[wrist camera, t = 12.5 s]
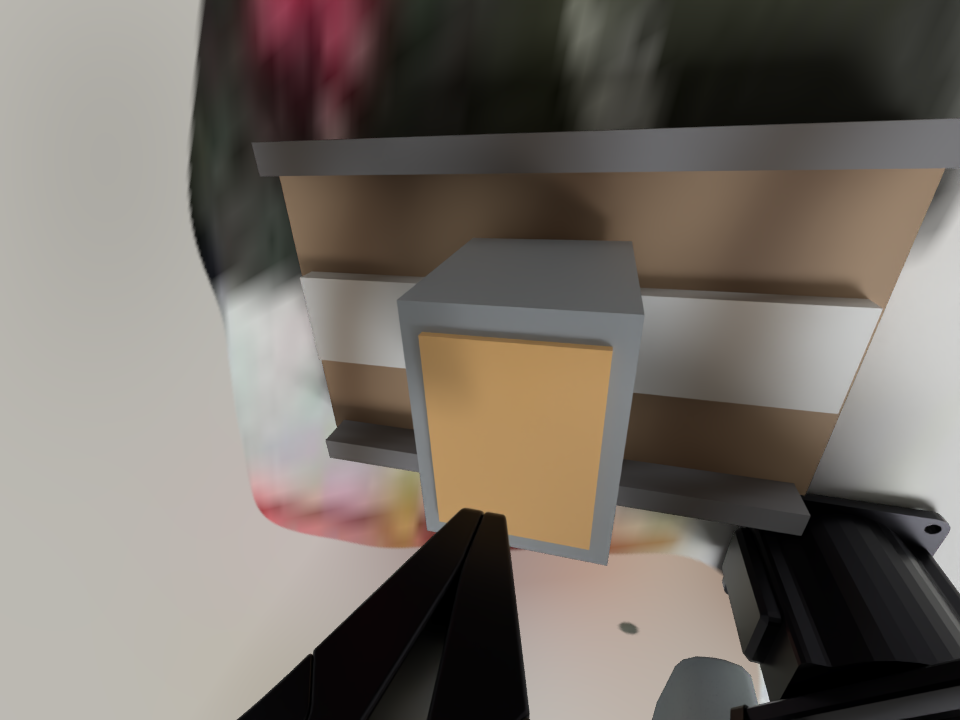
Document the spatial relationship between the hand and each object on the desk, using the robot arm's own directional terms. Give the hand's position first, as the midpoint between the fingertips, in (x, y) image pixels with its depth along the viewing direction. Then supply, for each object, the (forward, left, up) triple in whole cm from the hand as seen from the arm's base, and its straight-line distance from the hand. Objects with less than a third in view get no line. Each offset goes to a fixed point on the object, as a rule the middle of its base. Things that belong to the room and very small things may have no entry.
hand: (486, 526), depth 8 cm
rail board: (0, 0, -10) cm, 10 cm away
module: (0, 0, -8) cm, 8 cm away
